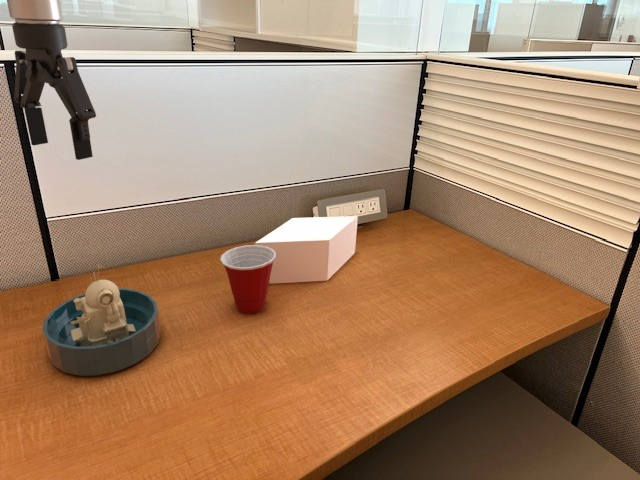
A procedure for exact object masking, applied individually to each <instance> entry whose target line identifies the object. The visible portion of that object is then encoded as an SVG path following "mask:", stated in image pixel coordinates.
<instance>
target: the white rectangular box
mask: <svg viewBox="0 0 640 480" xmlns="http://www.w3.org/2000/svg"><path fill="white" fill-rule="evenodd" d="M358 221H359V216H358V215H348V216H347V215H345V216H313V217H312V216H311V217H310V216H309V217H292V218H290V219H289V220H287V221H286V222H284V223H283V224H281V225H279V226H278V227H277V228H275V229H274V230H273V231H271V232H269V233H268V234H266V235H264V236H263V237H261V238H260V239H258V240H257V241H255V242H254V245H260V246H266V247H269V248H271V249H273V250H274V251H275V252H276V257H275V260H274V261H273V266H272V271H271V274H270V280H269V285H270V284H272V285H273V284H286V283H287V284H290V283H307V282H310V283H311V282H326V281H329V279H330V278H332V277H333V276H334V274H336V273H337V272H338V271H339V270H340V269H341V268H342V267H343V266H344V265H345V264H346V263H347V262H348V261H349V259H351V258H352V256H354V255H355V254H356V246H357V245H356V244H357V232H358Z"/></svg>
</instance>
